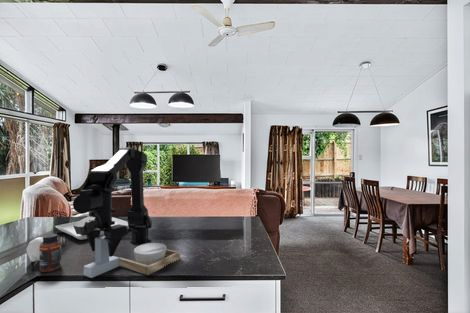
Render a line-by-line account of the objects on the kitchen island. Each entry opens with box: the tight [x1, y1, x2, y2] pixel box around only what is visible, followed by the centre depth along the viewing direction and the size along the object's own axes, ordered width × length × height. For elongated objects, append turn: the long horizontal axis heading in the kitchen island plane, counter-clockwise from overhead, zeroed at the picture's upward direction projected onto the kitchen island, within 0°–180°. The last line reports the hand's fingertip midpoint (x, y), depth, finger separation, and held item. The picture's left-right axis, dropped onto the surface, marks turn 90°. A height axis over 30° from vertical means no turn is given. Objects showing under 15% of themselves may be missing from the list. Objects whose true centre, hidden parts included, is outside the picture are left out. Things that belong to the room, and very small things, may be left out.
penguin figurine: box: [25, 236, 43, 262], centre depth 97 cm, size 6×8×12 cm
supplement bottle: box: [39, 233, 62, 273], centre depth 87 cm, size 6×6×11 cm
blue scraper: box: [83, 235, 120, 279], centre depth 86 cm, size 4×10×11 cm, turn 152°
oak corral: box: [118, 248, 181, 276], centre depth 93 cm, size 15×14×2 cm
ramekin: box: [133, 242, 168, 266], centre depth 93 cm, size 11×11×5 cm
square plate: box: [54, 216, 130, 240], centre depth 131 cm, size 27×27×4 cm
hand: (102, 253), depth 86 cm, fingers open, 9 cm apart
